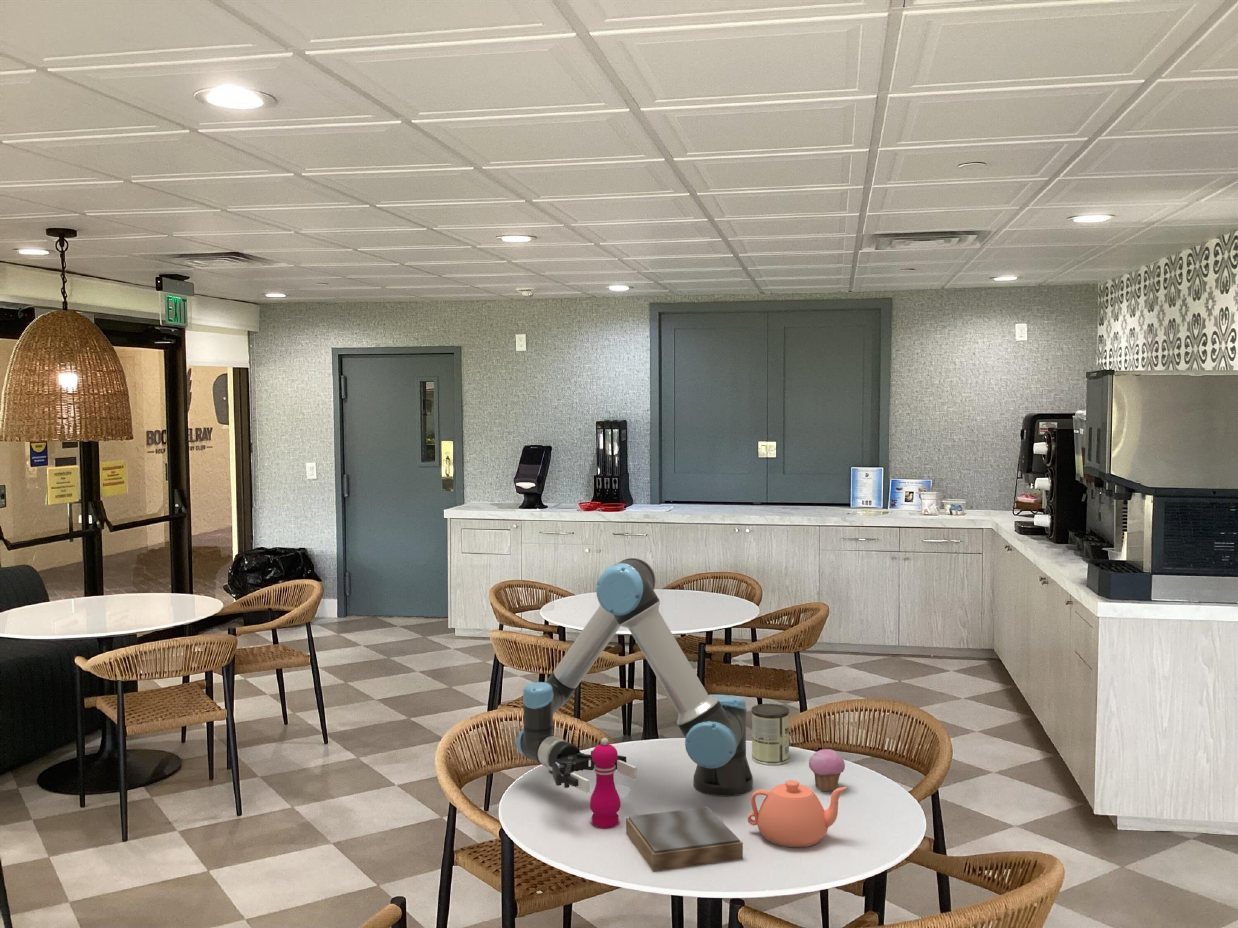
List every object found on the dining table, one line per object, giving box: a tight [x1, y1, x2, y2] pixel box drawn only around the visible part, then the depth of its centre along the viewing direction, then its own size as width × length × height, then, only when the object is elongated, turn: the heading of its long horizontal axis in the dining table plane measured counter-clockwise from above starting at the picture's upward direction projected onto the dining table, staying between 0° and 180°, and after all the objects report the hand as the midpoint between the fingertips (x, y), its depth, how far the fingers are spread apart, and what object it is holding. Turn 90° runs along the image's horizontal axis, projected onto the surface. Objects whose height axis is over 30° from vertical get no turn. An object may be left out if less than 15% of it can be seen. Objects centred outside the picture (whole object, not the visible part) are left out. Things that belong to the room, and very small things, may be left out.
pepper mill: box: [589, 737, 622, 829], centre depth 229 cm, size 7×7×20 cm
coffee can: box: [750, 703, 790, 766], centre depth 272 cm, size 10×10×14 cm
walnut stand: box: [625, 806, 744, 872], centre depth 217 cm, size 20×20×4 cm
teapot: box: [747, 779, 848, 848], centre depth 221 cm, size 22×16×12 cm
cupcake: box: [808, 748, 846, 792], centre depth 250 cm, size 9×9×10 cm
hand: (612, 779), depth 227 cm, fingers open, 13 cm apart
